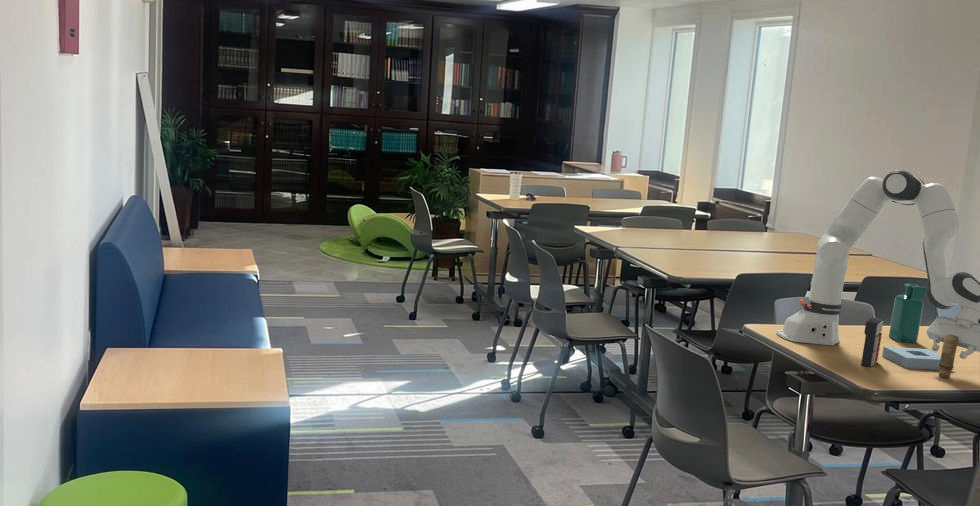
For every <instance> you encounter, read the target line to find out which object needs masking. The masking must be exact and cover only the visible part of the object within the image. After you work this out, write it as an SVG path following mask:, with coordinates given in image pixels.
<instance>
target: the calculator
mask: <svg viewBox="0 0 980 506" xmlns="http://www.w3.org/2000/svg"><path fill="white" fill-rule="evenodd" d="M883 325H884V321H883V318H876V317H872V316H871V317H870V318H869V319H868V320H867V321H866V322H865V325H864V326H865V327H864V332H863V333H864V336H865V338H864V344H863V348H862V349H863V351H862V356H861V362H860V365H861V366H863V367H867V368H871V367H873V366H874V365H875V364H877V363H876V362H878V360H879V354H880V349H881V348H880V347H881V340H882V335H883V333H882V331H883Z"/></svg>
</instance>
